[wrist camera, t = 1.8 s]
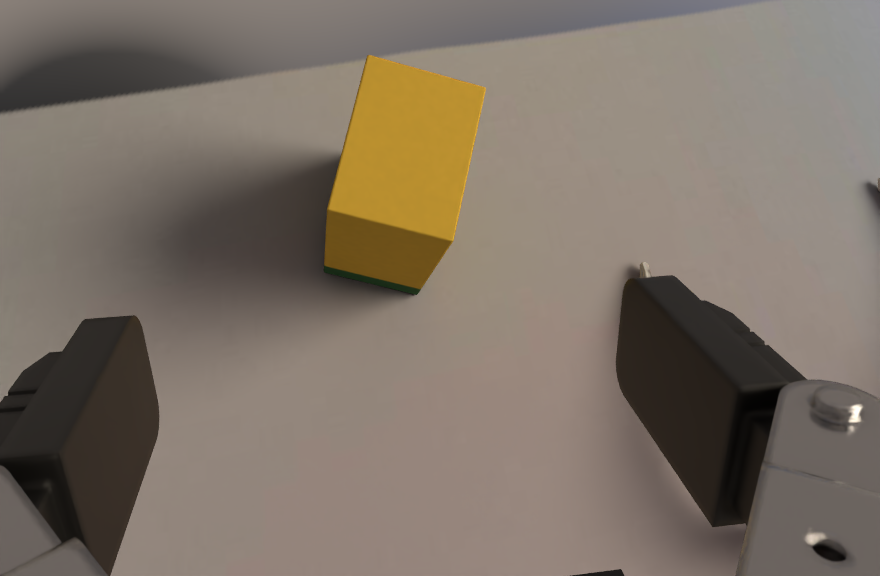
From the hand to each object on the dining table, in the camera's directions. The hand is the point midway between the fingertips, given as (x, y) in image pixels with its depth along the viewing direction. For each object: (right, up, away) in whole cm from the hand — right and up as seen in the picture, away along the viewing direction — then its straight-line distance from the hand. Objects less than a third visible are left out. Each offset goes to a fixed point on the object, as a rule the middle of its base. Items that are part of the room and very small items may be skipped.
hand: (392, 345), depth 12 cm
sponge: (-2, +4, +22) cm, 22 cm away
